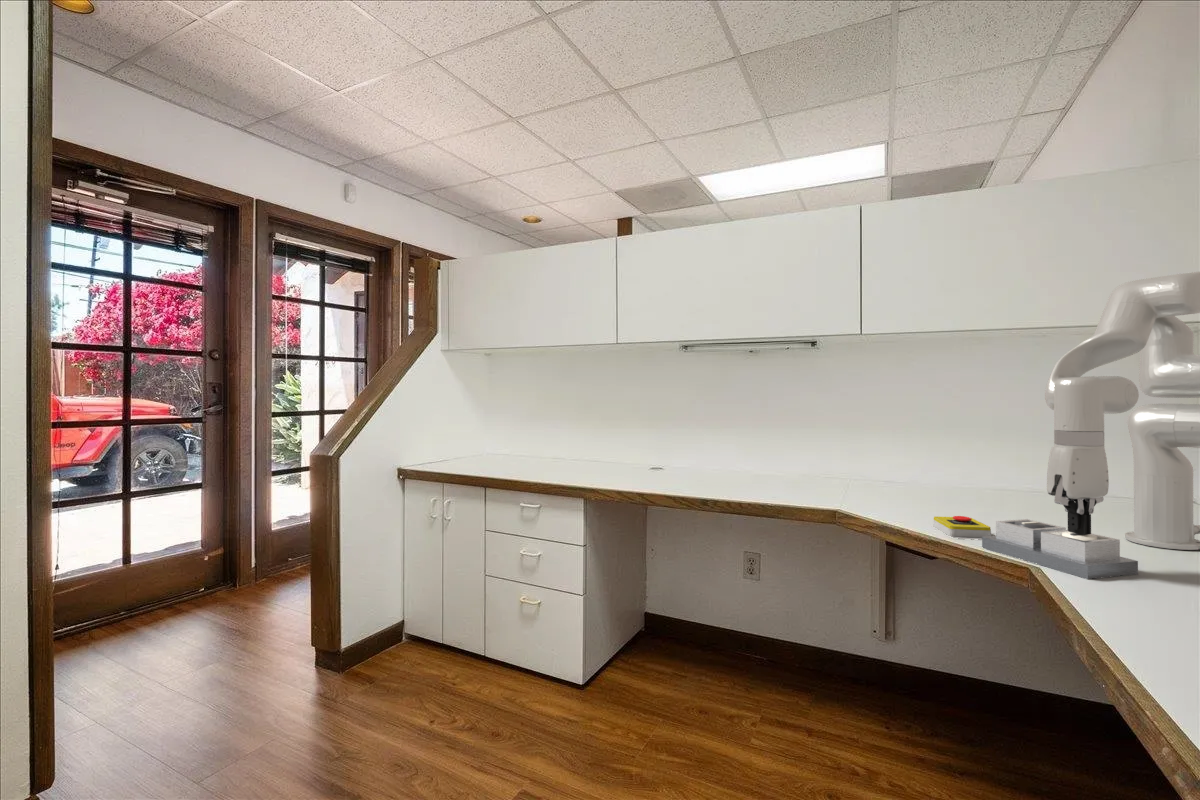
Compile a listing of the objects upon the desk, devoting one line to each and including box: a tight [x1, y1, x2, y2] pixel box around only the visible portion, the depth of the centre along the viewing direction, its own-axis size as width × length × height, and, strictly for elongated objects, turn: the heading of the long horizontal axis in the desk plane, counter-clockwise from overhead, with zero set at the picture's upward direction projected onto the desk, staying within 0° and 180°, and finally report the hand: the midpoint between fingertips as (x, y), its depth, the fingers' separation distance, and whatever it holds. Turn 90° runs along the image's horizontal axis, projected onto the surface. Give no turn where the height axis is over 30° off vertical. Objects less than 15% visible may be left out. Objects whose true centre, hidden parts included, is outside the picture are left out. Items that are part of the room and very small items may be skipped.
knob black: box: [1015, 521, 1045, 529], centre depth 119 cm, size 5×5×6 cm
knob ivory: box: [1062, 532, 1097, 541], centre depth 110 cm, size 5×5×6 cm
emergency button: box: [932, 515, 992, 541], centre depth 138 cm, size 9×4×15 cm
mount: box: [981, 518, 1139, 580], centre depth 114 cm, size 12×22×6 cm, turn 12°
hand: (1079, 532), depth 110 cm, fingers closed
